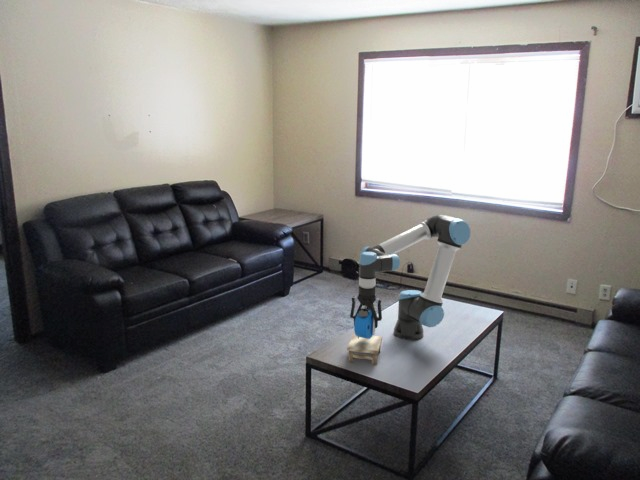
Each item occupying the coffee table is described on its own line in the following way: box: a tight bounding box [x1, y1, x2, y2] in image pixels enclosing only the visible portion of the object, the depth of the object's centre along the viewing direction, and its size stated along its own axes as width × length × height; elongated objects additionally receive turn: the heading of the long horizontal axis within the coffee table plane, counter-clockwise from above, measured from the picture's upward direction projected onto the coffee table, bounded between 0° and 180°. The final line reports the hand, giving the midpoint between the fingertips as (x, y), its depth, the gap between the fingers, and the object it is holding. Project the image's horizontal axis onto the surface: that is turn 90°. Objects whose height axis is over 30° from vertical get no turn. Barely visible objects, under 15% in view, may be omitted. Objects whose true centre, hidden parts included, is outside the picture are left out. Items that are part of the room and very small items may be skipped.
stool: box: [346, 333, 383, 366], centre depth 251 cm, size 14×16×8 cm
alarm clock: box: [353, 306, 377, 339], centre depth 247 cm, size 13×6×15 cm, turn 152°
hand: (365, 332), depth 249 cm, fingers closed on alarm clock, 7 cm apart
